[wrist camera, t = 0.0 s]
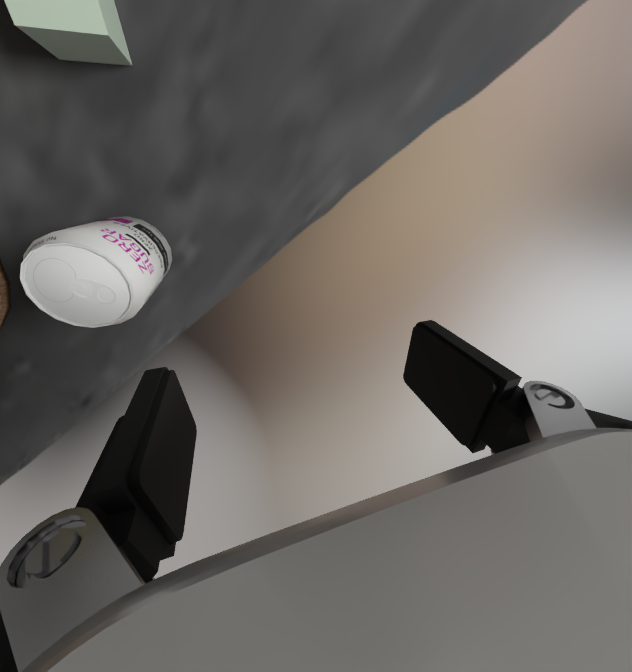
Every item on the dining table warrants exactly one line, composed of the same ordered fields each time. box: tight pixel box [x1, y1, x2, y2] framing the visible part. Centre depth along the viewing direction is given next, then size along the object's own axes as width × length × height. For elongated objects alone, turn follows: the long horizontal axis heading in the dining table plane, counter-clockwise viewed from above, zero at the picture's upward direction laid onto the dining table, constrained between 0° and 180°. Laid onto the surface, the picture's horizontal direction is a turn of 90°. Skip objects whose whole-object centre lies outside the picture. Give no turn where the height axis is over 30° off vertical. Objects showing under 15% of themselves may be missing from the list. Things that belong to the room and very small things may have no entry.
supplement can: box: [20, 216, 172, 328], centre depth 26 cm, size 8×8×15 cm
